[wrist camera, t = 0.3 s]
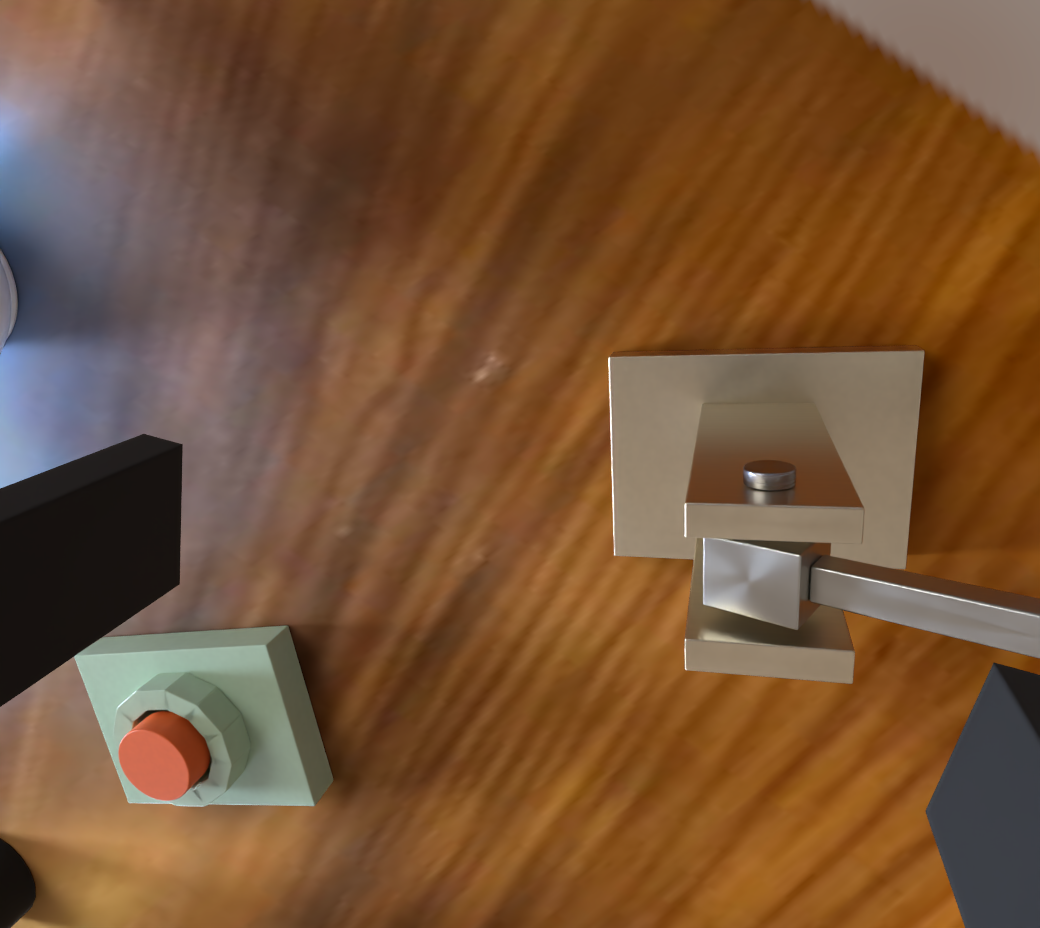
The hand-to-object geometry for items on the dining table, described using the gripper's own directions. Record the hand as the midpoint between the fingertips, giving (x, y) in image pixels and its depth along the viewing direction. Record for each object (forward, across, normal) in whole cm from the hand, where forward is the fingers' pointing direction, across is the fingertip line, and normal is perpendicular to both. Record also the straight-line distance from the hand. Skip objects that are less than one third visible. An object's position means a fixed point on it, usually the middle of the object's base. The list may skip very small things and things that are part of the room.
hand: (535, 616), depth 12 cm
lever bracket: (+22, +5, -3) cm, 23 cm away
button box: (+23, -20, -26) cm, 40 cm away
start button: (+19, -20, -25) cm, 38 cm away
